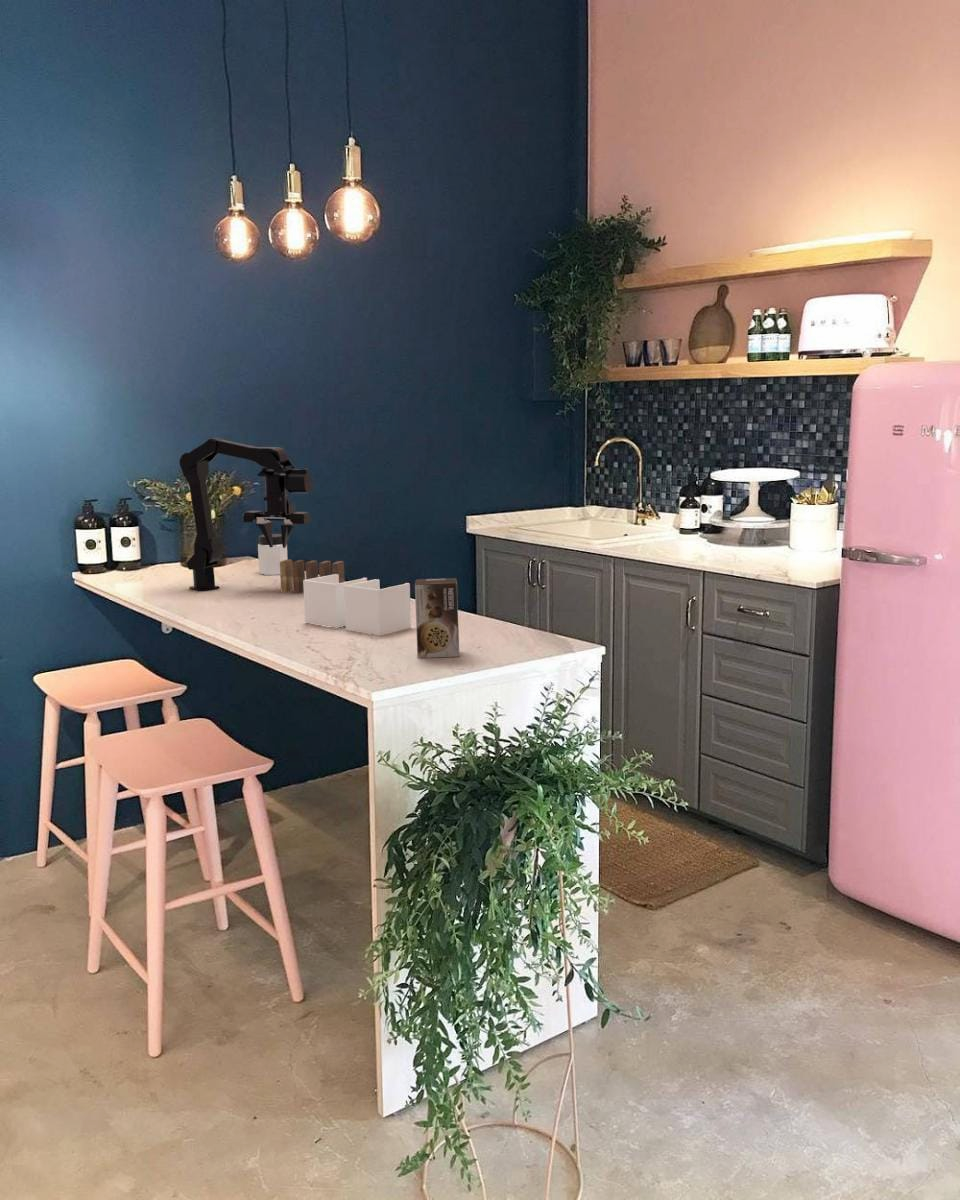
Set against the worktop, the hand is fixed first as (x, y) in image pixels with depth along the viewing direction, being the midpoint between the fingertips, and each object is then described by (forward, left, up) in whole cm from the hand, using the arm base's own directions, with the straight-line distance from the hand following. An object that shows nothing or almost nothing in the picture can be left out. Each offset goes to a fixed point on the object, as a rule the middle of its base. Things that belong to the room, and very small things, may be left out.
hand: (277, 547), depth 318 cm
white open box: (+54, -16, -13) cm, 58 cm away
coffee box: (+91, -24, -13) cm, 95 cm away
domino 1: (+1, +2, -13) cm, 13 cm away
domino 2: (+5, +3, -13) cm, 14 cm away
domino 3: (+8, +5, -13) cm, 16 cm away
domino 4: (+12, +7, -13) cm, 19 cm away
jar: (-29, +18, -13) cm, 37 cm away
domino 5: (+15, +9, -13) cm, 22 cm away
